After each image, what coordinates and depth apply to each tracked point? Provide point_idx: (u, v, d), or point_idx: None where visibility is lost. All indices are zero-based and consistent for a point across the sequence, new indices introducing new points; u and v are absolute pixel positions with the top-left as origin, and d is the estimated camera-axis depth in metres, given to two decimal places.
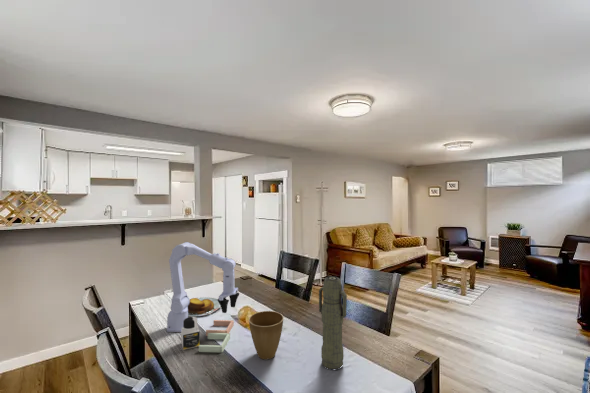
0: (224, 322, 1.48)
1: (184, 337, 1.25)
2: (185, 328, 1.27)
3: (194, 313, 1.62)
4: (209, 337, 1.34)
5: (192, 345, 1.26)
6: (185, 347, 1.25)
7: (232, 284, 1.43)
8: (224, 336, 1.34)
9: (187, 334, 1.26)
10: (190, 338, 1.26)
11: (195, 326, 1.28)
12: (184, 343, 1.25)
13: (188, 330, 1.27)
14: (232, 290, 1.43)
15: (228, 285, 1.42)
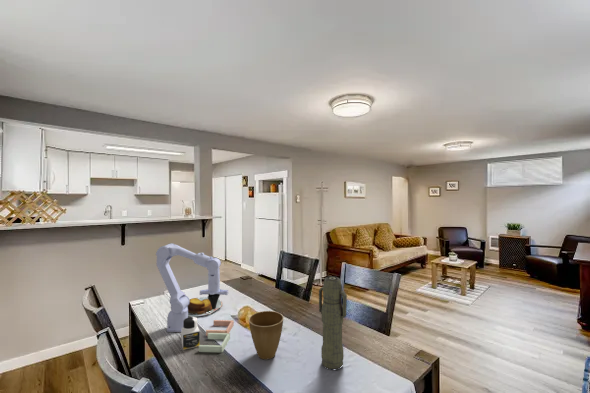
0: (224, 322, 1.48)
1: (184, 337, 1.25)
2: (185, 328, 1.27)
3: (194, 313, 1.62)
4: (209, 337, 1.34)
5: (192, 345, 1.26)
6: (185, 347, 1.25)
7: (210, 283, 1.42)
8: (224, 336, 1.34)
9: (187, 334, 1.26)
10: (190, 338, 1.26)
11: (195, 326, 1.28)
12: (184, 343, 1.25)
13: (188, 330, 1.27)
14: (210, 289, 1.42)
15: (208, 283, 1.44)
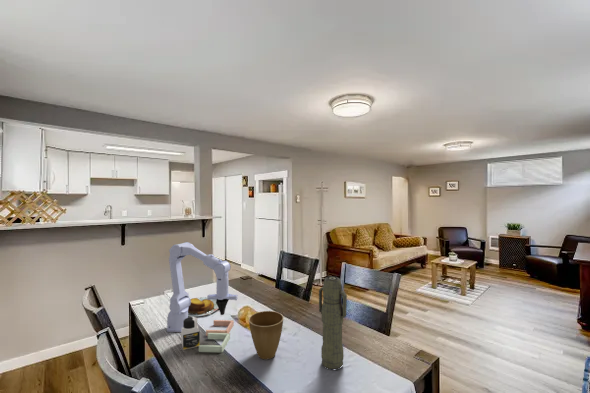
0: (224, 322, 1.48)
1: (184, 337, 1.25)
2: (185, 328, 1.27)
3: (194, 313, 1.62)
4: (209, 337, 1.34)
5: (192, 345, 1.26)
6: (185, 347, 1.25)
7: (219, 288, 1.35)
8: (224, 336, 1.34)
9: (187, 334, 1.26)
10: (190, 338, 1.26)
11: (195, 326, 1.28)
12: (184, 343, 1.25)
13: (188, 330, 1.27)
14: (219, 294, 1.35)
15: (216, 287, 1.37)
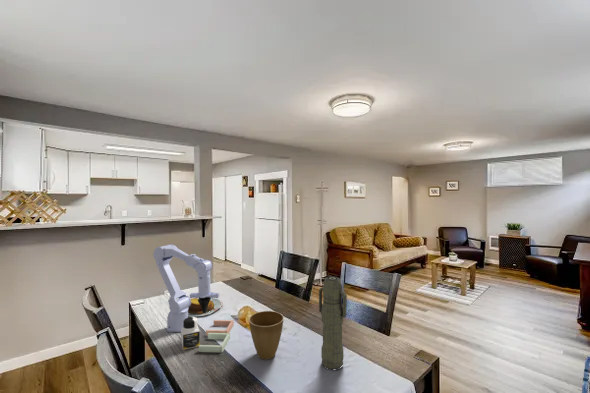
0: (224, 322, 1.48)
1: (184, 337, 1.25)
2: (185, 328, 1.27)
3: (194, 313, 1.62)
4: (209, 337, 1.34)
5: (192, 345, 1.26)
6: (185, 347, 1.25)
7: (200, 286, 1.38)
8: (224, 336, 1.34)
9: (187, 334, 1.26)
10: (190, 338, 1.26)
11: (195, 326, 1.28)
12: (184, 343, 1.25)
13: (188, 330, 1.27)
14: (200, 293, 1.38)
15: (198, 286, 1.39)
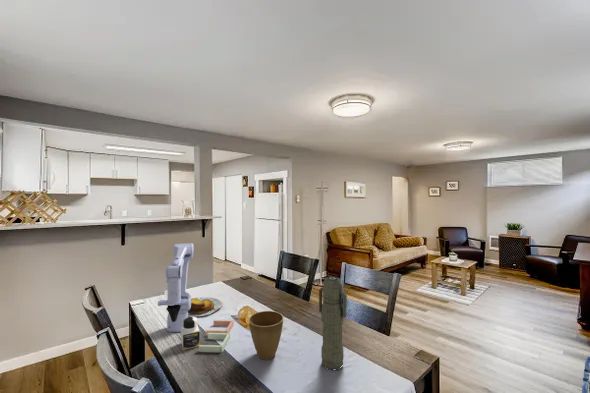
0: (224, 322, 1.48)
1: (184, 337, 1.25)
2: (185, 328, 1.27)
3: (194, 313, 1.61)
4: (209, 337, 1.34)
5: (192, 344, 1.26)
6: (185, 347, 1.25)
7: (169, 293, 1.28)
8: (224, 336, 1.34)
9: (187, 334, 1.26)
10: (190, 338, 1.26)
11: (195, 326, 1.28)
12: (184, 343, 1.25)
13: (188, 330, 1.27)
14: (169, 300, 1.28)
15: None
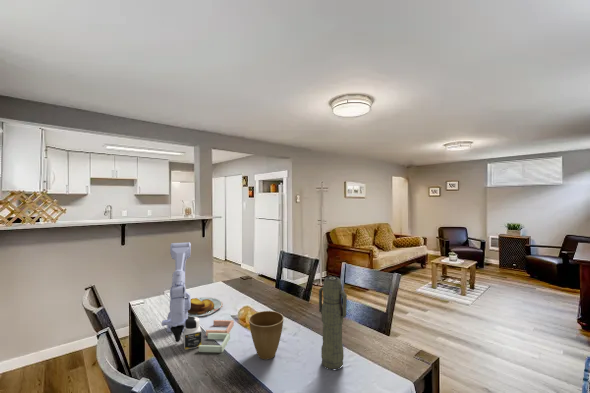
0: (224, 322, 1.48)
1: (186, 337, 1.25)
2: (187, 328, 1.27)
3: (194, 313, 1.61)
4: (209, 337, 1.34)
5: (194, 345, 1.26)
6: (186, 347, 1.25)
7: (173, 314, 1.27)
8: (224, 336, 1.34)
9: (189, 334, 1.25)
10: (192, 338, 1.26)
11: (197, 326, 1.28)
12: (186, 343, 1.25)
13: (190, 330, 1.26)
14: (173, 320, 1.27)
15: (171, 313, 1.29)
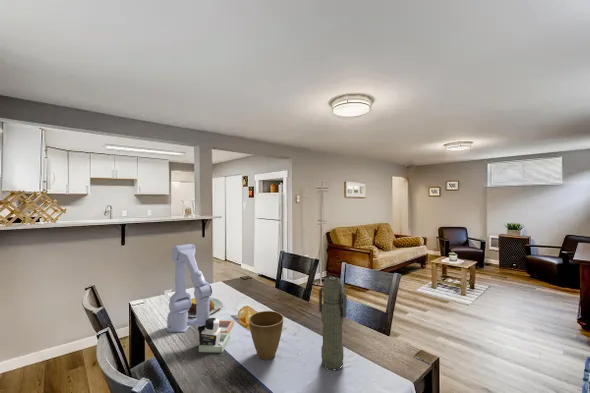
0: (224, 322, 1.48)
1: (201, 336, 1.24)
2: (205, 327, 1.26)
3: (194, 313, 1.61)
4: None
5: None
6: None
7: (199, 314, 1.27)
8: (224, 336, 1.34)
9: (204, 334, 1.24)
10: (207, 339, 1.24)
11: (214, 329, 1.25)
12: (201, 342, 1.24)
13: (207, 330, 1.25)
14: (199, 320, 1.27)
15: (196, 313, 1.28)
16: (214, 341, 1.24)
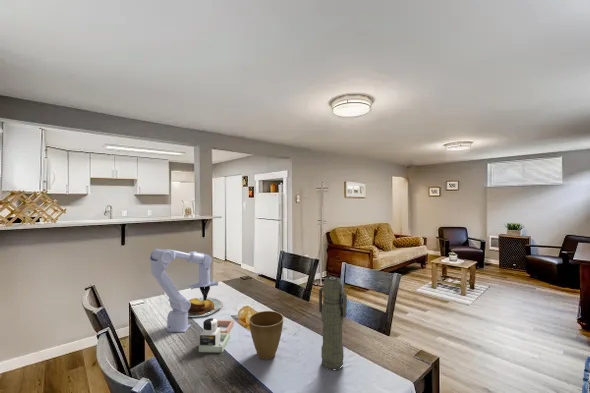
0: (224, 322, 1.48)
1: (200, 338, 1.24)
2: (203, 329, 1.26)
3: (194, 313, 1.61)
4: None
5: None
6: None
7: (203, 277, 1.54)
8: (224, 336, 1.34)
9: (203, 335, 1.24)
10: (206, 340, 1.24)
11: (212, 329, 1.25)
12: (200, 343, 1.24)
13: (205, 331, 1.25)
14: (203, 282, 1.54)
15: (200, 277, 1.55)
16: (214, 341, 1.24)
